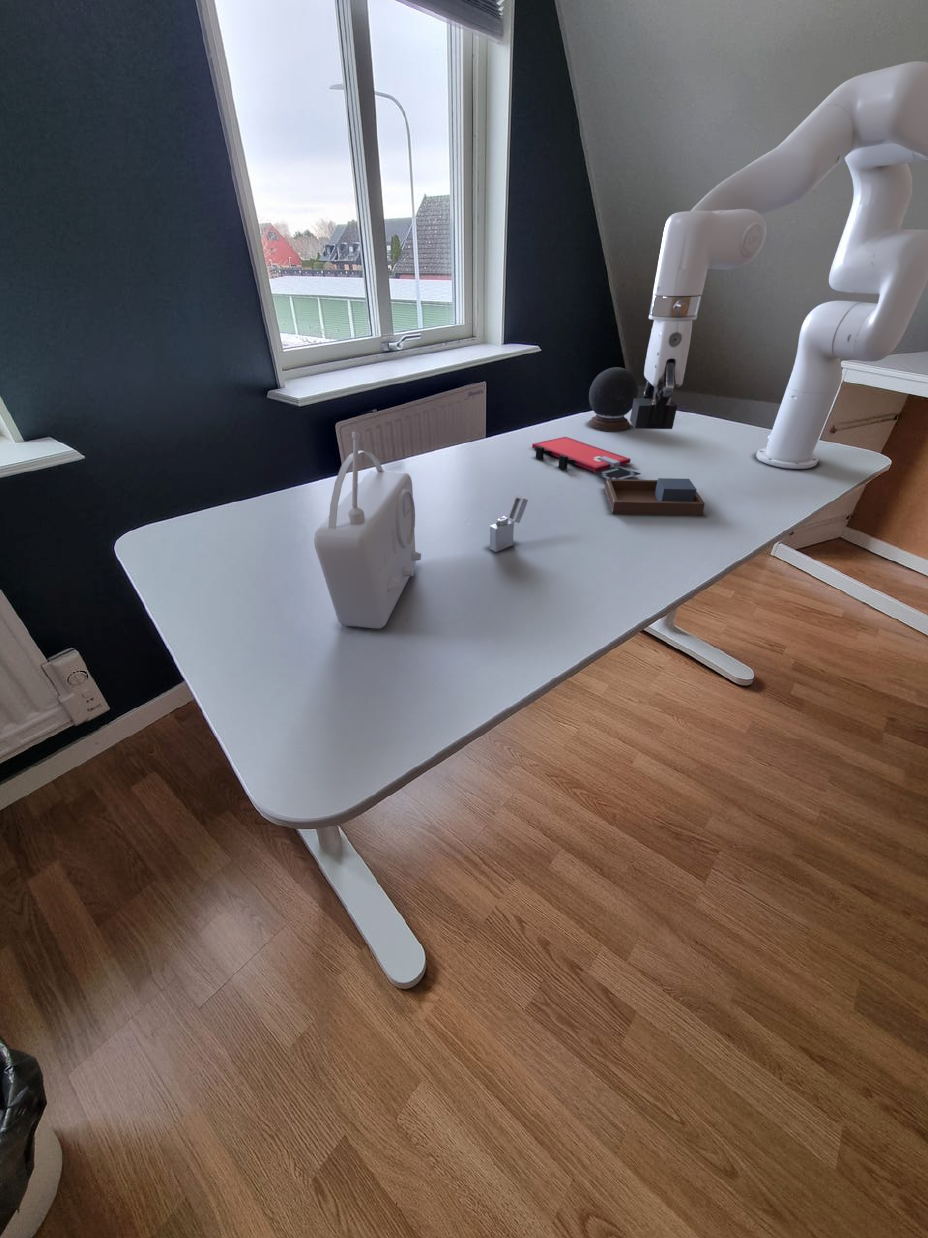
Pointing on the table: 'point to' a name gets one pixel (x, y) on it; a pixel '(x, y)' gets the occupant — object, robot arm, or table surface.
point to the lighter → (506, 526)
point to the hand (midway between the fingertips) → (651, 421)
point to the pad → (675, 490)
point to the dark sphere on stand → (612, 399)
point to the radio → (368, 543)
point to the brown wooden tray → (646, 499)
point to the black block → (641, 413)
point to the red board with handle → (585, 457)
